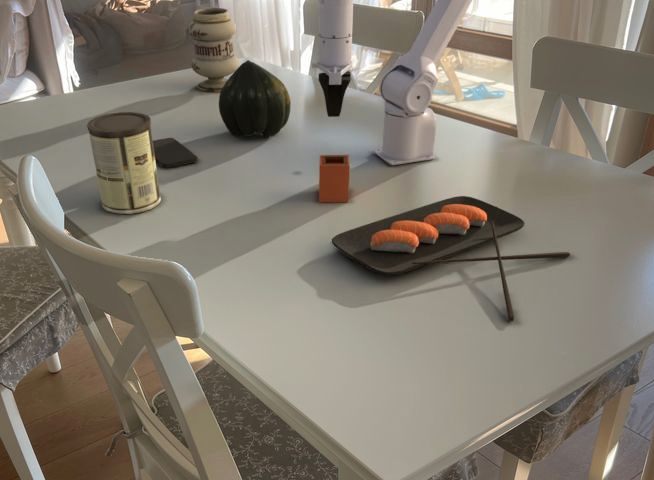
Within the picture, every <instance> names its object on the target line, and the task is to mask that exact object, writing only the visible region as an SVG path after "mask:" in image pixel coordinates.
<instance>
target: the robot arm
mask: <svg viewBox="0 0 654 480" xmlns="http://www.w3.org/2000/svg"><path fill="white" fill-rule="evenodd" d="M472 2H473V0H436V1H435V3H434V5H433V7H432V8H431V11H430V12H429V14H428V16H427V18H426V20H425V22H424V23H423V25H422V26H421V29H420V31H419V33H418V35H417V36H416V38H415V40H414V41H413V44H412V46H411V47H410V49H409V51H408V52H405V54H403V55H402V56H400V57H398V58H397V59H396V61H395V63H394V64H393V66H392V67H391V68H390V69H388V71H386V72H385V73H384V74H383V76H382V77H381V79H380V82H379V94H380V96H381V98H382V99H383V100H384V115H383V117H384V118H383V131H382V132H383V134H382V148H379V149H374V150H373V154H375V155H376V156H378V157H379V158H380V159H382V160H383V161H384V162H386V163H387V164H388V165H390V166H398V165H404V164H411V163H416V162H417V163H418V162H423V161H429V160H435V159H436V156H435V155H434V151H435V143H436V133H437V119H436V114H435V112H434V110H433V109H432V108H430V107H429V106H430V104H431V102H432V100H433V96H434V90H435V87H436V85H437V83H438V82H439V76H438V72H437V65H438V63H439V61H440V59H441V57H442V56H443V54H444V52H445V50H446V48H447V47H448V44H449V43H450V42H451V39H452V37H453V36H454V34H455V32H456V30H457V29H458V27H459V25H460V23H461V21H462V20H463V18H464V17H465V14H466V12H467V11H468V9H469V7H470V6H471V3H472ZM353 18H354V0H318V57H317V58H318V59H317V60H313V61H311V68H312V69H318V70H319V71H322V72H320V73H318V82H319V84H320V87H321V89H322V92H323V97H324V101H325V109H326V114H327V117H329V118H334V117H335V118H337V117H340V116H341V112H342V108H343V103H344V98H345V95H346V91H347V89H348V87H349V85H350V83H351V80H352V77H351V71H349V70H351V69H352V68H353V61H352V55H353V54H352V53H353V52H352V51H353V27H354V26H353V25H354V19H353Z"/></svg>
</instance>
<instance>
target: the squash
mask: <svg viewBox="0 0 654 480" xmlns="http://www.w3.org/2000/svg"><path fill="white" fill-rule="evenodd" d="M227 79H228V80H227V82H226V83H225V85H224V86H223V88H222V90H221V92H219V96H218V110H219V115H220V118H221V120H222V122H223V123H224V126H225V127H226V129H227V130H228V132H230V133H231V135H232V136H235V137H238V138H245V137H248V136H253V135H254V134H257V135H262V136H265V137H266V138H267V137H268V138H272V137H274V136H276V135H278V134H279V133H280V131H281V130H282V129H283V128H284V127H285V126H286V124H287V123H288V121H289V118H290V114H291V106H292V105H291V104H292V102H291V98H290V94H289V91H288V89H287V87H286V85H285V84H284V82H282V80H281V79H279V78H278V77H277V76H275V75H274V74H273V73H272V72H270V71H269V70H267V69H265V68H263V67H262V66H260V65H259V64H257V63H255V62H253V61H251V60H248V59H247V60H246V61H244V62H243V63H241V64H239V66H238V68H237V70H236V71H235V72H233V73H232V74H230V75H229V77H228V78H227Z"/></svg>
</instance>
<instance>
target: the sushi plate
mask: <svg viewBox="0 0 654 480" xmlns="http://www.w3.org/2000/svg"><path fill="white" fill-rule="evenodd" d="M523 227H525V221H524V220H523V219H522V218H520V217H519V216H517V215H515V214H514V213H511V212H509V211H507V210H504V209H502V208H500V207H497V206H495V205H493V204H491V203H488V202H487V201H484V200H481V199H478V198H475V197H472V196H467V195H459V196H453V197H449V198H446V199H445V198H444V199H441V200H438V201H435V202H432V203H429V204H425V205H423V206H420V207H417V208H413V209H410V210H407V211H404V212H401V213H399V214H394V215H392V216H389V217H386V218H382V219H379V220H376V221H373V222H370V223H367V224H364V225H361V226H357V227H354V228H352V229H349V230H346V231H342V232H340V233H338V234H336V235H335V236H333V237H332V238H331V244H332V245H333V246H334V248H335V249H336V250H338V251H339V252H341V253H342V254H344V255H345V256H347V257H348V258H350V259H352V260H353V261H355V262H356V263H358V264H360V265H361V266H363V267H365V268H367V269H369V270H371V271H373V272H375V273H376V274H381V275H383V276H384V275H385V276H395V275H401V274H404V273H407V272H410V271H413V270H416V269H419V268H421V267H425V266H427V265H430V264H444V263H445V264H447V263H463V262H464V263H466V262H484V261H485V262H487V261H489V262H490V261H497V263H498V268H499V273H500V281H501V285H502V291H503V296H504V303H505V308H506V314H507V318H508V322H514V320H515V319H514V318H515V315H514V310H513V305H512V300H511V296H510V292H509V288H508V287H509V286H508V283H507V278H506V275H505V274H506V273H505V269H504V266H503V261H510V260H535V259H538V260H539V259H557V258H558V259H559V258H569V257H570V256H571V253H570V252H569V251H557V252H543V253H542V252H541V253H529V254H514V255H501V253H500V252H501V251H500V247H499V242H498V239H501V238H503V237H505V236H508V235H511V234H513V233H515V232H518V231H519V230H522V229H523ZM492 241H494V247H495V252H496V256H486V257H485V256H484V257H471V258H455V259H453V258H452V259H446V258H449V257H451V256H455V255H457V254H459V253H463V252H465V251H468V250H470V249H473V248H476V247H479V246H481V245H484V244H487V243H490V242H492Z"/></svg>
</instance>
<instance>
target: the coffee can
mask: <svg viewBox="0 0 654 480" xmlns="http://www.w3.org/2000/svg"><path fill="white" fill-rule="evenodd" d="M151 125H152V118H151V117H150V116H149V115H147V114H145V113H141V112H133V111H123V112H122V111H121V112H120V111H119V112H111V113H106V114H103V115H99V116H96V117H94V118H92V119H90V120H89V121H88V122H86V129H87V131H88V135H89V139H90V145H91V151H92V156H93V162H94V167H95V171H96V178H97V183H98V187H99V188H98V189H99V193H100V194H99V195H100V200H101V206H102V208H103V210H104V211H107V212H109V213H112V214H118V215H130V214H131V215H132V214H139V213H143V212H146V211H150V210H152V209H154V208H156V207H157V206H159V204H160V203H161V200H162V197H161V193H160V186H159V179H158V178H159V177H158V169H157V163H156V161H155V155H154V147H153V140H154V139H153V133H152V126H151Z"/></svg>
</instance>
